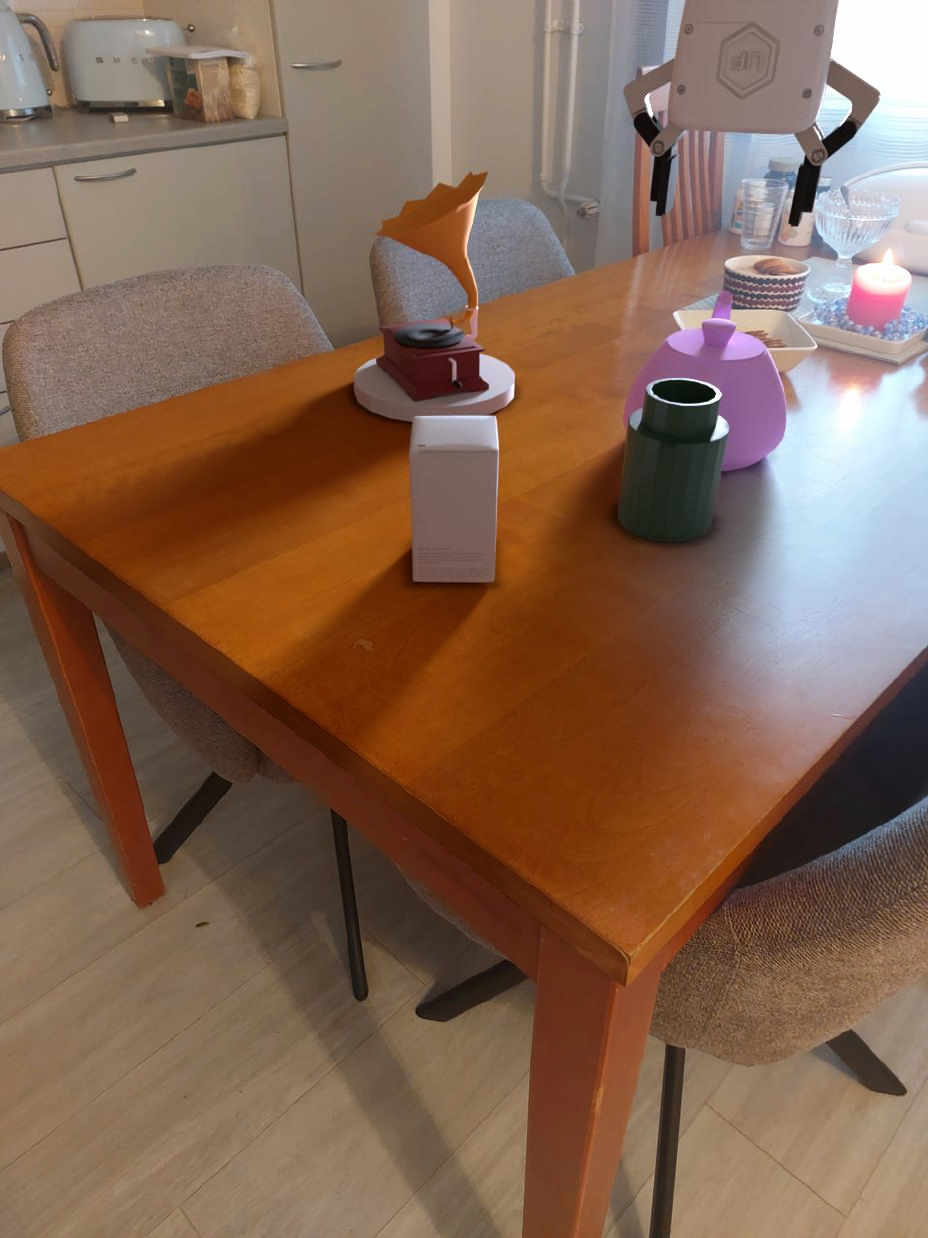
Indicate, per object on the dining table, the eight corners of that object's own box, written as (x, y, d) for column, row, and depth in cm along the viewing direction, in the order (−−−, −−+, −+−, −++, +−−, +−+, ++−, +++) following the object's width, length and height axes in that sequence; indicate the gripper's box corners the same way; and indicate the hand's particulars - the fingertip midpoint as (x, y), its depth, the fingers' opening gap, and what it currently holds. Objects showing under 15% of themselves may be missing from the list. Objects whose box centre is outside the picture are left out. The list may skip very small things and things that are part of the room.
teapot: (780, 498, 91) (812, 367, 83) (607, 477, 94) (620, 349, 86) (778, 406, 110) (803, 292, 102) (635, 391, 114) (648, 280, 106)
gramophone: (475, 354, 125) (477, 155, 110) (543, 407, 110) (556, 184, 95) (334, 374, 118) (316, 166, 104) (385, 434, 103) (373, 199, 88)
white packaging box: (495, 584, 78) (499, 450, 70) (411, 583, 78) (405, 450, 70) (494, 540, 84) (498, 413, 76) (415, 540, 84) (411, 412, 76)
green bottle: (717, 506, 89) (741, 381, 82) (702, 550, 83) (726, 417, 75) (629, 490, 92) (644, 367, 84) (607, 531, 85) (621, 401, 78)
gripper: (625, -72, 57) (602, 218, 67) (920, -79, 51) (847, 238, 61) (651, -66, 62) (626, 200, 72) (919, -72, 57) (853, 216, 67)
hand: (727, 217), depth 67 cm, fingers open, 9 cm apart
